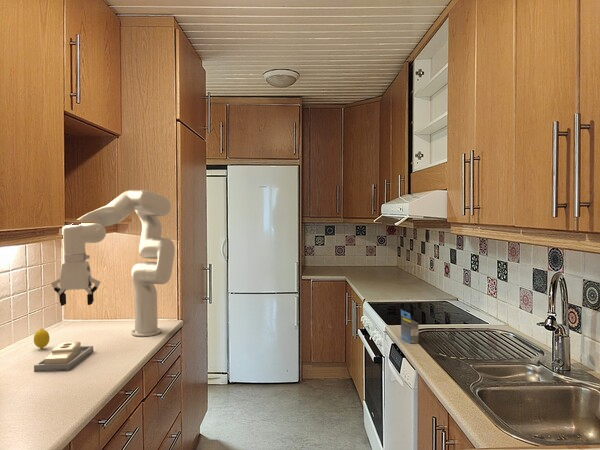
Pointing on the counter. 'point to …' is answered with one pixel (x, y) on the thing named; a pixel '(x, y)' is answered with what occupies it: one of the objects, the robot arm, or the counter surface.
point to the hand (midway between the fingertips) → (76, 304)
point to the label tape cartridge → (408, 328)
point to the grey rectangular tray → (64, 367)
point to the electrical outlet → (64, 353)
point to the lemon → (41, 338)
